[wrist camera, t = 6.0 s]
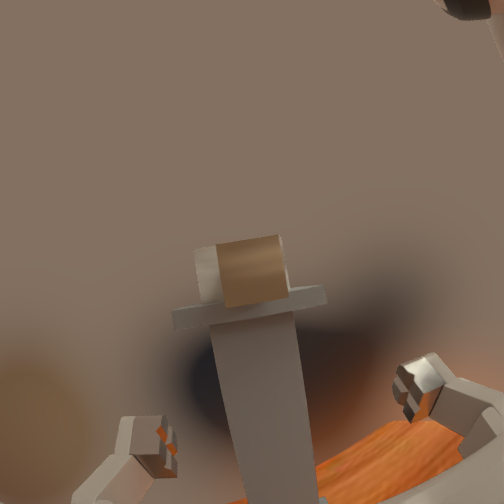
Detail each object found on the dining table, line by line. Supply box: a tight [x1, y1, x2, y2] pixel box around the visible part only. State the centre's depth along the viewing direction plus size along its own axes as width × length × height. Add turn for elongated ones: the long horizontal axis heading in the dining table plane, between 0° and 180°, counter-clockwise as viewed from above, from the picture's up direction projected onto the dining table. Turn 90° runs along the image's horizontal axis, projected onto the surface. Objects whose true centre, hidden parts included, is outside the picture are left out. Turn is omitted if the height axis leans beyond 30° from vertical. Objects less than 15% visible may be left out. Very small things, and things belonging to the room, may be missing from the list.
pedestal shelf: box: [171, 285, 328, 504], centre depth 27 cm, size 12×11×32 cm
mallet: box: [194, 235, 290, 308], centre depth 23 cm, size 18×8×5 cm, turn 3°
